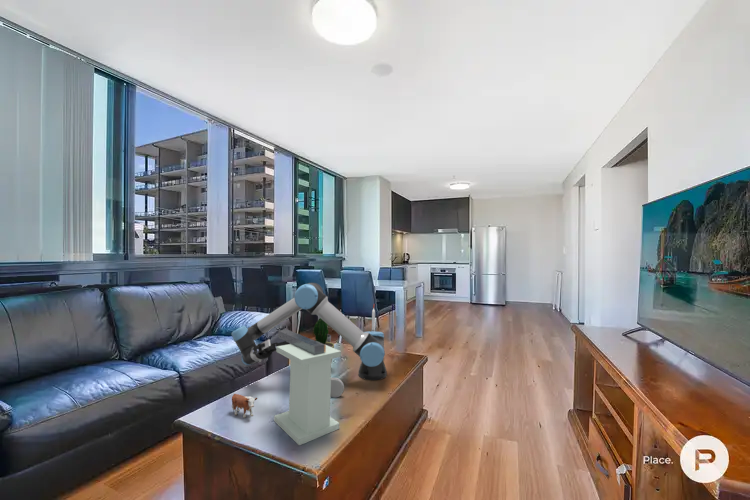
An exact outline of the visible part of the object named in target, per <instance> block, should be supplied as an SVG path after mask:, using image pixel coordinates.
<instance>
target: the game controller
mask: <svg viewBox="0 0 750 500" xmlns="http://www.w3.org/2000/svg"><path fill="white" fill-rule="evenodd" d="M344 390H345V385H344V382H343V381H342V379H340V378H339V377H331V395H330V398H338V397H340V396H342V394H343V392H344Z"/></svg>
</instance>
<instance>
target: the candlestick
mask: <svg viewBox="0 0 750 500" xmlns="http://www.w3.org/2000/svg"><path fill="white" fill-rule="evenodd" d="M372 308H373V309H372V311H371V331H375V332H376V328H375V327H376V310H375V304H373V306H372Z"/></svg>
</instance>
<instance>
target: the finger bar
mask: <svg viewBox="0 0 750 500" xmlns="http://www.w3.org/2000/svg"><path fill="white" fill-rule="evenodd" d="M277 338H278V339H279V340H282V341H283V342H284V341H286V342H288V343H290V344H292V345H294V346H296V347H299V348H301V349H303V350H305V351H307V352H309V353H311V354H313V355H317V354H321V353H324V352H326V345H324V344H322V343H319V342H317V341H316V339H312V338H309V337H307V336H305V335H301V334H300V333H298V332H294V331H292V330H289V329H281V330H278V334H277Z"/></svg>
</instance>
